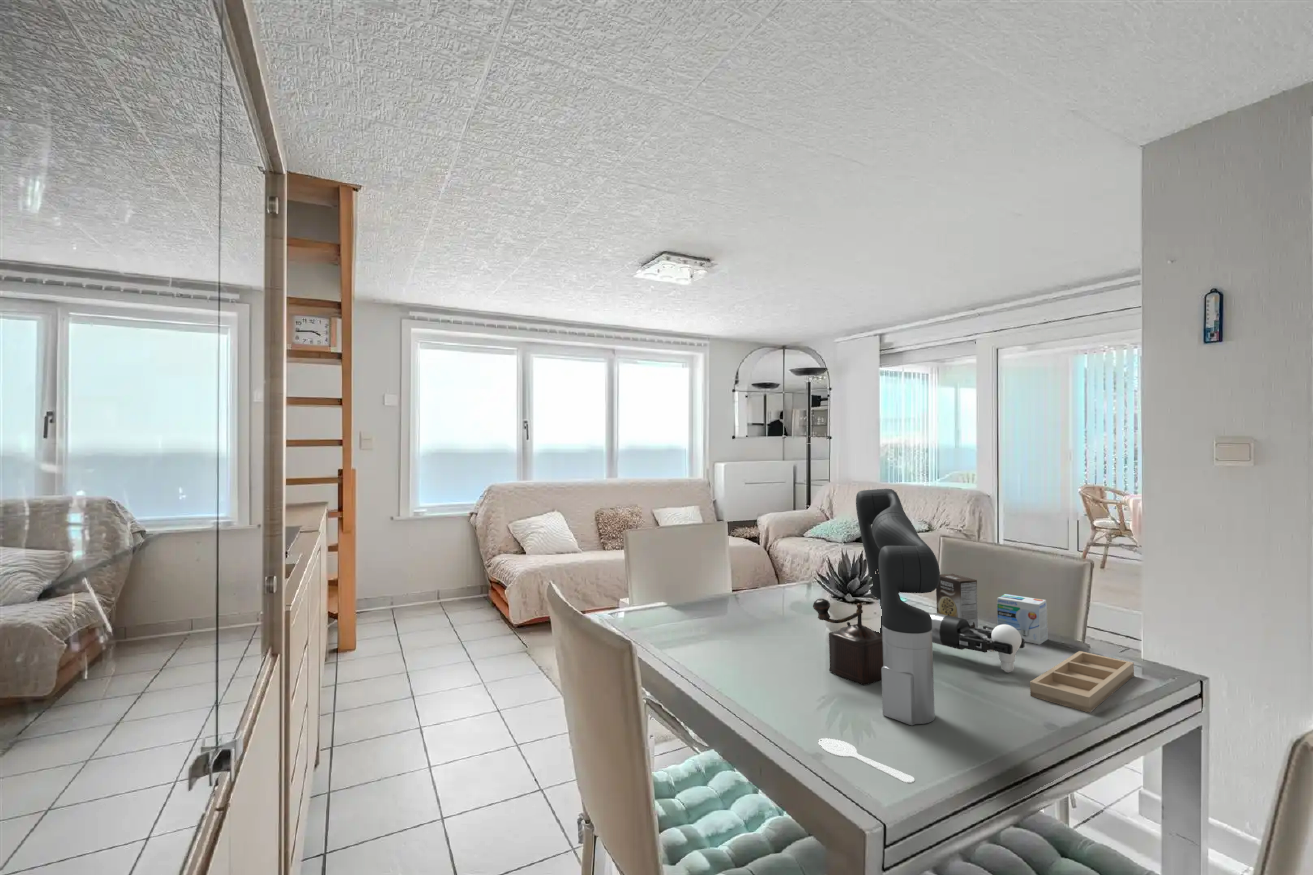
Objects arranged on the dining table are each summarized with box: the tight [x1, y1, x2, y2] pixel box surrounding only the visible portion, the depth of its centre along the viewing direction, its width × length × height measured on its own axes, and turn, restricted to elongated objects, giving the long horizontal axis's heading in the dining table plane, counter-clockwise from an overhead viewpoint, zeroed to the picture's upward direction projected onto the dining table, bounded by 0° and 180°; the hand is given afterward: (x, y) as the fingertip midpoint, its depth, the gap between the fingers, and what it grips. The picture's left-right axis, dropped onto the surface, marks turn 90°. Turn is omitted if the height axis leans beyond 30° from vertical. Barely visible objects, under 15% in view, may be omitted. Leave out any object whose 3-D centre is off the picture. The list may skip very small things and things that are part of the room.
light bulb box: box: [996, 593, 1049, 645], centre depth 163 cm, size 11×7×11 cm, turn 42°
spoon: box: [817, 737, 915, 784], centre depth 101 cm, size 5×18×1 cm, turn 37°
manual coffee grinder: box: [812, 598, 883, 686], centre depth 138 cm, size 16×11×18 cm
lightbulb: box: [991, 624, 1022, 673], centre depth 139 cm, size 6×6×11 cm
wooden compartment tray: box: [1029, 650, 1135, 713], centre depth 130 cm, size 30×10×3 cm, turn 128°
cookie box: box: [935, 573, 979, 628], centre depth 168 cm, size 9×6×16 cm
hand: (1017, 646), depth 137 cm, fingers closed on lightbulb, 6 cm apart
